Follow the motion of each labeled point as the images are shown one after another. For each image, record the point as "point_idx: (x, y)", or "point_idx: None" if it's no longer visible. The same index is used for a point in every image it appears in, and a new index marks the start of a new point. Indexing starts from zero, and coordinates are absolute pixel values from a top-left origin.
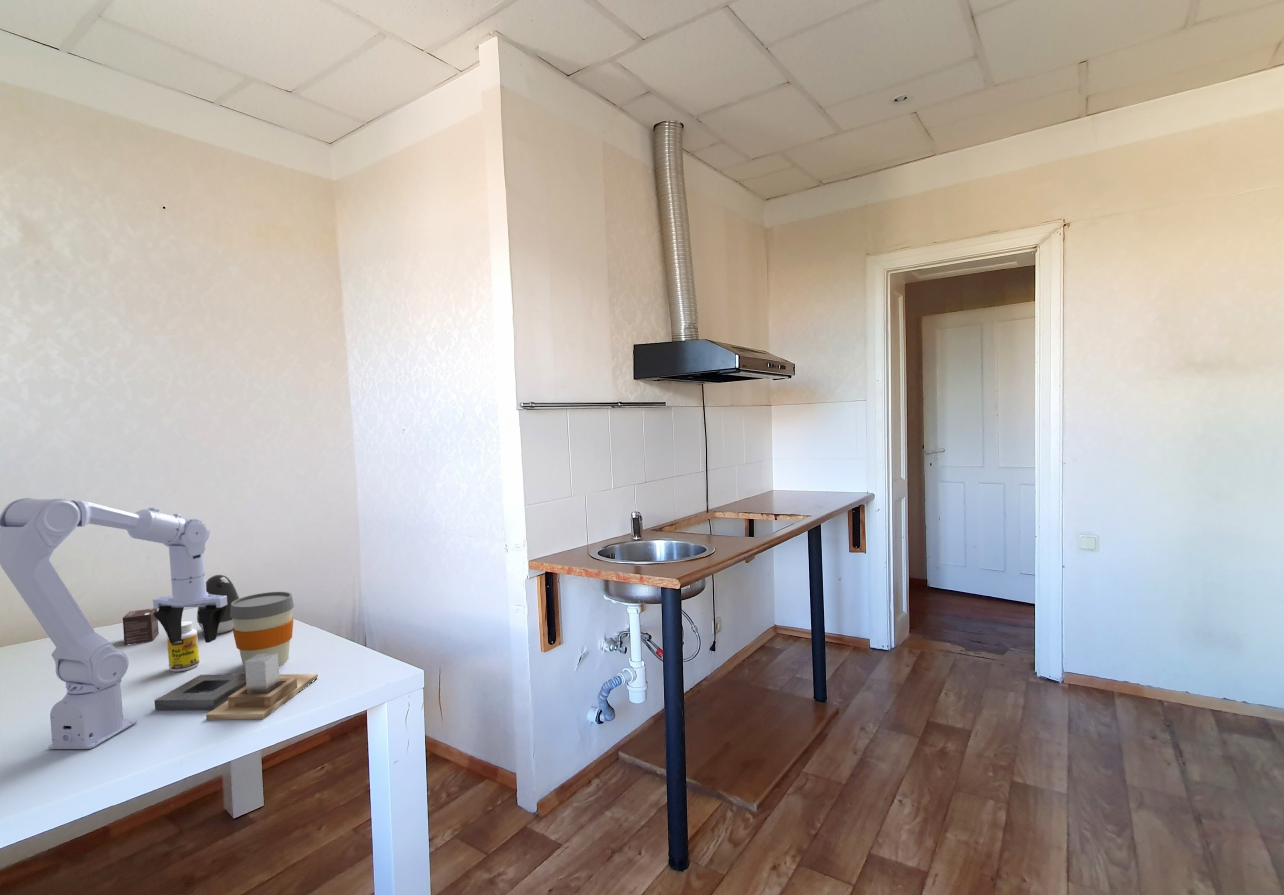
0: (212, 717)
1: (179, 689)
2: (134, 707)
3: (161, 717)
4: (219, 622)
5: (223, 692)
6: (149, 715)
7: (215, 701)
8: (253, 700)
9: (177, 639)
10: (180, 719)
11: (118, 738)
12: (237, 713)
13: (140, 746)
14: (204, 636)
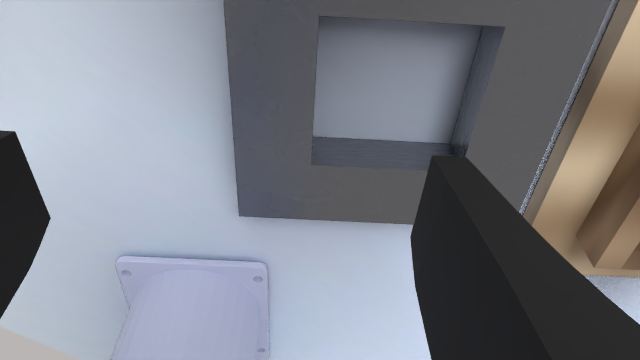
0: None
1: (264, 125)
2: (121, 156)
3: (321, 233)
4: (612, 309)
5: (526, 173)
6: (259, 218)
7: None
8: None
9: (24, 187)
10: (406, 248)
11: (291, 320)
12: (625, 272)
13: (391, 349)
14: (423, 307)
